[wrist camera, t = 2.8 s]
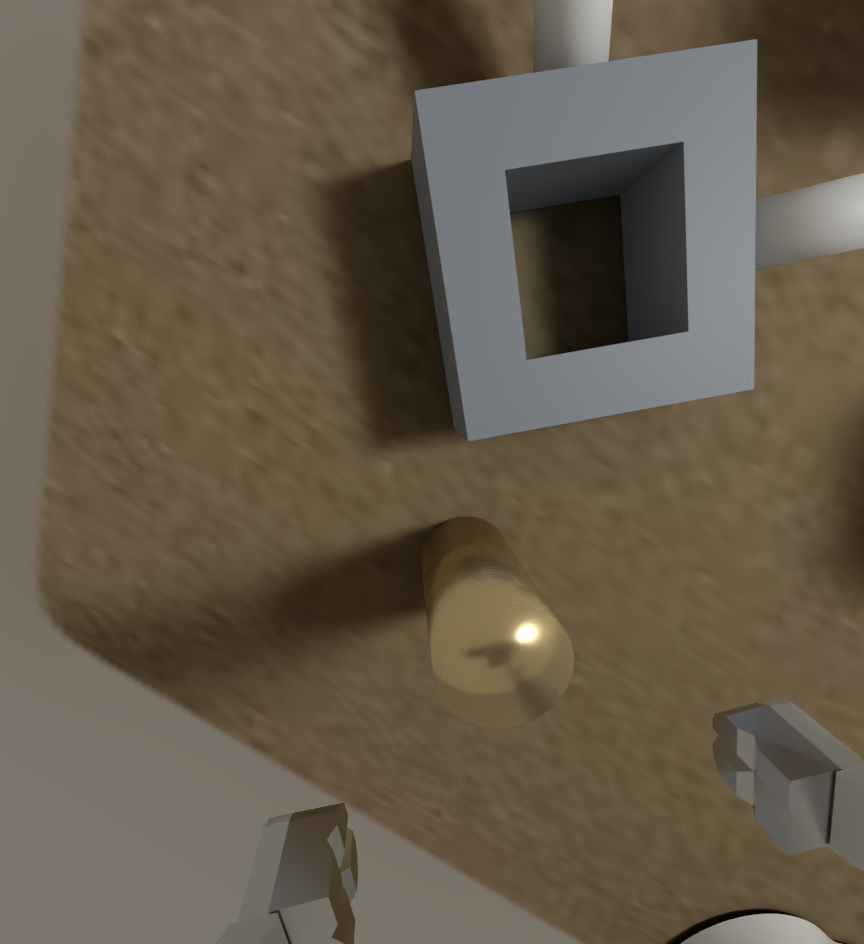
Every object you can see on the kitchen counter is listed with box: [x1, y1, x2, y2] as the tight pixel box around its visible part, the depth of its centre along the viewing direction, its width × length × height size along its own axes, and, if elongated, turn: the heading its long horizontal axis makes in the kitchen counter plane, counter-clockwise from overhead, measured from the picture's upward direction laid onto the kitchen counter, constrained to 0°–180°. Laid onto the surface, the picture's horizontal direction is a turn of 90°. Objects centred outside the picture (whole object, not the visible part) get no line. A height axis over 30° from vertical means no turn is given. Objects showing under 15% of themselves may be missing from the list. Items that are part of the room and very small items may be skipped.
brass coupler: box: [421, 517, 574, 728], centre depth 17 cm, size 4×4×8 cm
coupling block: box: [411, 0, 864, 441], centre depth 15 cm, size 17×17×6 cm
